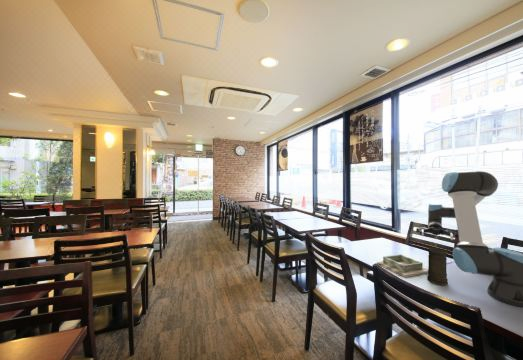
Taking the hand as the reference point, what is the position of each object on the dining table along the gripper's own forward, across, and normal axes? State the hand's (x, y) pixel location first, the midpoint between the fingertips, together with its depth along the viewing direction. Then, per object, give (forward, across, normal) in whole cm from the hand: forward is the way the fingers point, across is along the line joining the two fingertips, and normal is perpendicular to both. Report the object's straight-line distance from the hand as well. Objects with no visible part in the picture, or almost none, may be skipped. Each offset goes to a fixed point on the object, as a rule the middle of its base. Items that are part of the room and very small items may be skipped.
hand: (437, 235), depth 126 cm
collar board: (+1, +17, -24) cm, 29 cm away
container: (+10, 0, -24) cm, 26 cm away
